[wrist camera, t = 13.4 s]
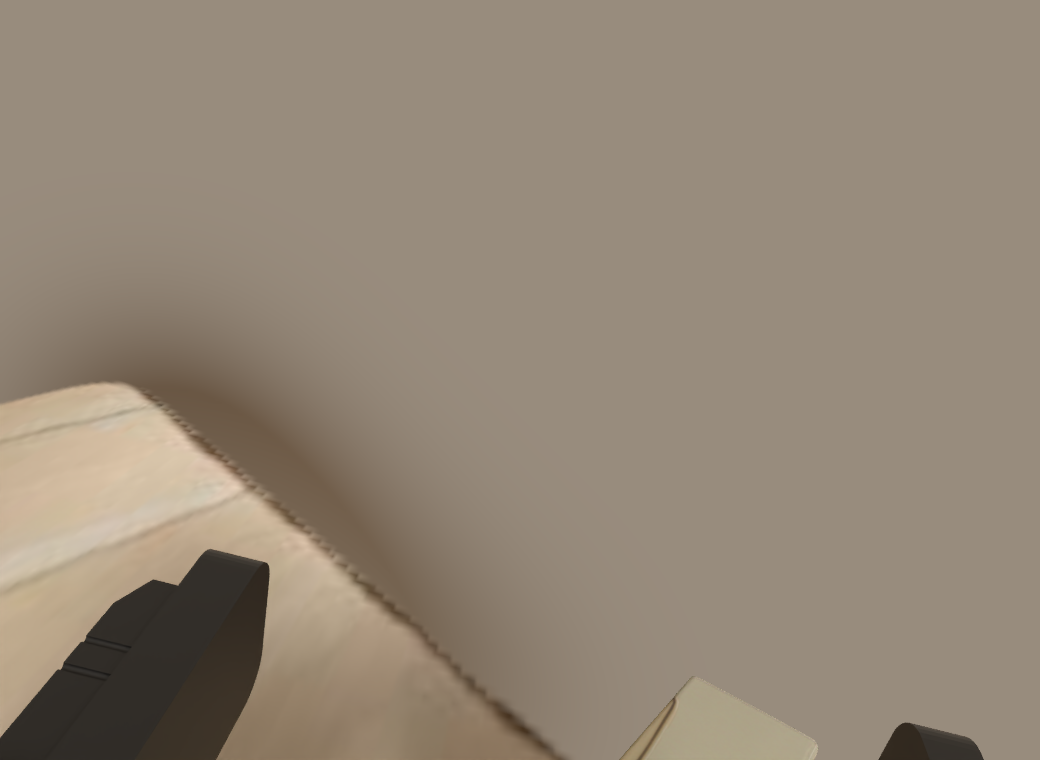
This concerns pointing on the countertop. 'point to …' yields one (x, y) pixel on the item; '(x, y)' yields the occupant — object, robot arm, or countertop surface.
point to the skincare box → (717, 730)
